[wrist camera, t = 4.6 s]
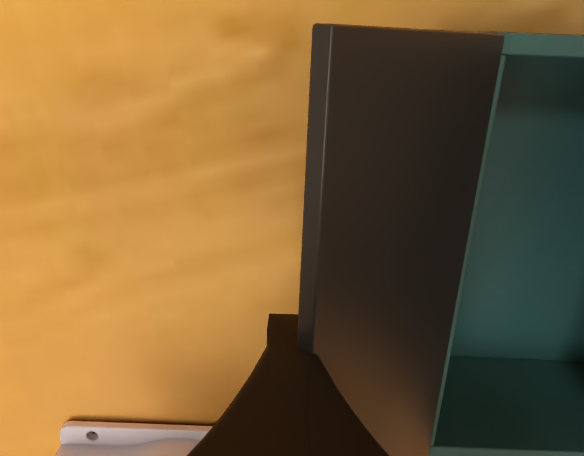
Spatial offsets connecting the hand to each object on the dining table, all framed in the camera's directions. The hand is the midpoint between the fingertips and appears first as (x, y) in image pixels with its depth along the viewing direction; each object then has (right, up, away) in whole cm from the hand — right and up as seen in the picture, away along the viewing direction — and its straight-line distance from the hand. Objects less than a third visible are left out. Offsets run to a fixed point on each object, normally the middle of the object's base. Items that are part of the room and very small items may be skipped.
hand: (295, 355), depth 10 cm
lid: (+2, 0, +1) cm, 2 cm away
